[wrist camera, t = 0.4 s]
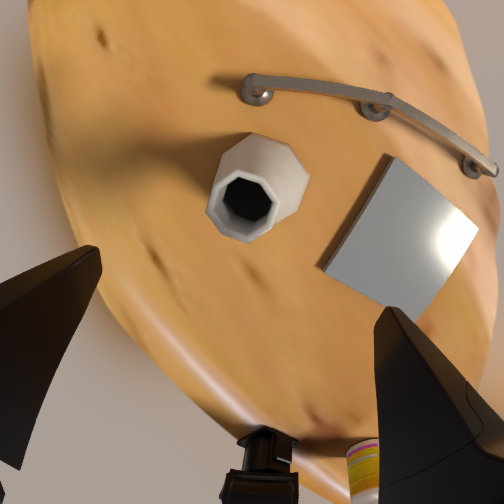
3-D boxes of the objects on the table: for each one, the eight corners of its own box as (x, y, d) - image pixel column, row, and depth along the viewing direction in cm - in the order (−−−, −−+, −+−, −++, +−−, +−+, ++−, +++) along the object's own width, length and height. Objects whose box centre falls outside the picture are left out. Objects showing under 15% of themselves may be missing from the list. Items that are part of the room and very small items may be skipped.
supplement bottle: (337, 454, 34) (341, 524, 22) (365, 434, 31) (377, 510, 20) (367, 459, 34) (375, 522, 22) (395, 439, 32) (410, 507, 20)
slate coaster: (411, 318, 24) (413, 323, 24) (322, 269, 24) (324, 273, 23) (473, 226, 20) (478, 229, 20) (392, 156, 20) (395, 156, 19)
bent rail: (477, 182, 19) (501, 189, 15) (239, 103, 20) (229, 95, 16) (484, 145, 18) (509, 148, 14) (248, 62, 18) (241, 46, 15)
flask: (197, 190, 22) (139, 222, 13) (251, 117, 20) (224, 92, 11) (269, 243, 23) (258, 309, 14) (326, 174, 21) (359, 195, 12)
